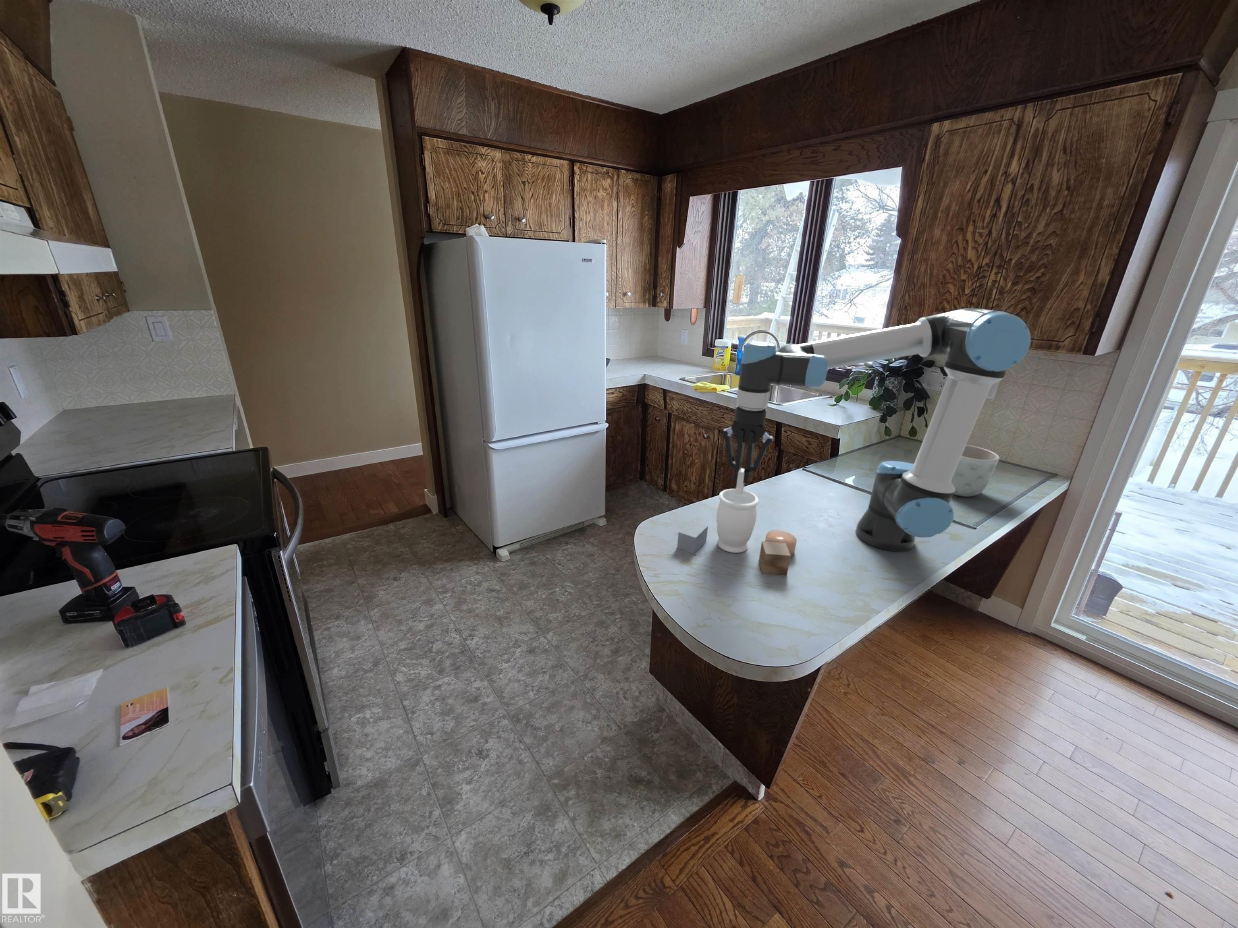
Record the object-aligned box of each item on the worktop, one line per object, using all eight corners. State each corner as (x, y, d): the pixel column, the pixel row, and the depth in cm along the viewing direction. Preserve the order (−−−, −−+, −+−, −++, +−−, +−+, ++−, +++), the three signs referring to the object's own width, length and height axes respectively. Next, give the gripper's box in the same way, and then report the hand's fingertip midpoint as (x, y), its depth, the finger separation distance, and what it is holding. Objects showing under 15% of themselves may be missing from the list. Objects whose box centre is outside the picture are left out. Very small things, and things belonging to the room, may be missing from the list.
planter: (977, 506, 167) (991, 464, 161) (922, 489, 179) (934, 449, 173) (991, 493, 178) (1005, 453, 172) (939, 478, 189) (950, 440, 184)
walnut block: (782, 563, 131) (785, 543, 129) (786, 576, 125) (790, 555, 123) (758, 560, 131) (762, 541, 129) (762, 574, 126) (765, 553, 124)
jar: (752, 558, 132) (760, 507, 127) (712, 552, 134) (718, 502, 128) (750, 538, 142) (757, 490, 136) (713, 533, 144) (719, 486, 138)
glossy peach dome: (796, 547, 138) (798, 534, 137) (791, 561, 132) (794, 548, 130) (766, 540, 142) (768, 527, 140) (761, 553, 135) (763, 540, 133)
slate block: (706, 541, 140) (708, 525, 138) (693, 553, 133) (695, 537, 132) (690, 536, 142) (691, 520, 140) (677, 548, 136) (678, 531, 134)
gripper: (781, 407, 124) (766, 493, 133) (729, 399, 129) (719, 482, 138) (775, 414, 117) (761, 504, 126) (721, 406, 123) (711, 492, 131)
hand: (739, 492), depth 132 cm, fingers closed
